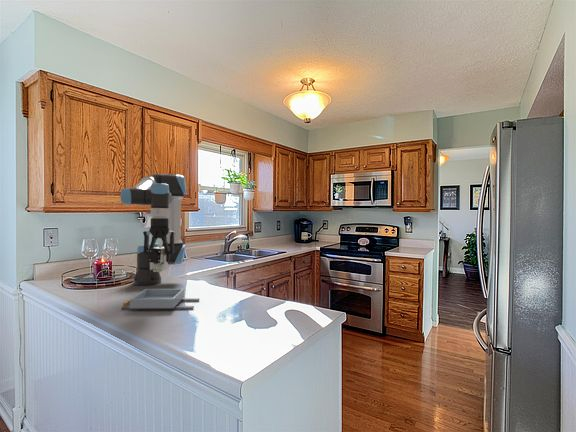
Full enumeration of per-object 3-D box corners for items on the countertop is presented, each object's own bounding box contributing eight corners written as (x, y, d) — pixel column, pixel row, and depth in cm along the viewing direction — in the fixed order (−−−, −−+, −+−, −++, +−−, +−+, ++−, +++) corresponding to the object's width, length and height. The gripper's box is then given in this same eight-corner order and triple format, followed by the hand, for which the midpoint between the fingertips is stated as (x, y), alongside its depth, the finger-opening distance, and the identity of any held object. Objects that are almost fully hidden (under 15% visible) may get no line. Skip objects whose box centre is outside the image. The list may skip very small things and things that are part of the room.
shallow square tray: (145, 296, 148) (146, 288, 148) (184, 296, 150) (184, 288, 150) (129, 308, 130) (129, 299, 130) (173, 308, 132) (173, 299, 132)
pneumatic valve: (169, 269, 145) (171, 244, 145) (157, 274, 134) (159, 246, 134) (158, 268, 146) (160, 243, 146) (144, 273, 134) (146, 245, 134)
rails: (133, 300, 146) (133, 296, 146) (199, 300, 148) (199, 296, 148) (119, 309, 132) (119, 305, 132) (192, 309, 134) (193, 305, 134)
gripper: (135, 217, 135) (134, 270, 135) (178, 218, 137) (177, 270, 137) (141, 217, 143) (141, 267, 143) (182, 218, 144) (181, 267, 144)
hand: (158, 268), depth 140 cm, fingers closed on pneumatic valve, 5 cm apart
